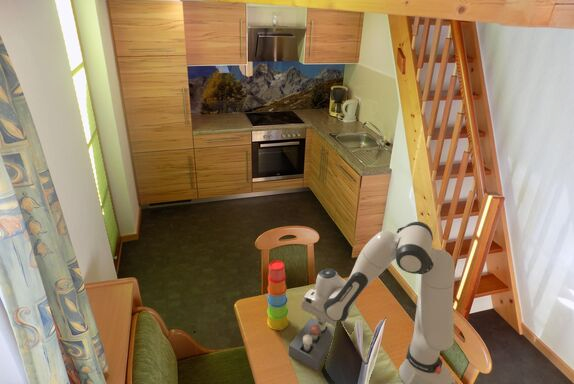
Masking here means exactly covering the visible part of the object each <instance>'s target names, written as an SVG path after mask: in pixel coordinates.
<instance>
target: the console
mask: <svg viewBox="0 0 574 384" xmlns="http://www.w3.org/2000/svg"><path fill="white" fill-rule="evenodd" d="M307 320H308V321H307V322H306V323H305V325H304V326H303V327H302V328H301V329H300V331H299V332H298V333H297V334H296V336H295V337H294V339H292V341H291V342H290V344H289V346H288V355H289V356H290V357H292V358H293V359H296V360H297V361H299V362H300V363H303V364H304V365H306V366H308V367H310V368H312V369H313V370H315V371H318V369H319V368H320V367H321V365H322V364H323V362H324V360H325V359H326V357H327V356H328V354H329V353H330V351H329V349H330V346H331V343H332V340H333V334H334V330H336V329H335V328H332V327H331V326H329V325H327V324H326V329H325V330H324V334H322V333H320V332H319V334H318V337H317V340H316V341H312V344H311V345H310V350H309V351H305V350H304V344H303V336H304V335H311V333H310V329H311V326H312V325H317V322H318V320H317V319H316V318H315V319H314V318H313V317H309V319H307ZM328 352H329V353H328Z"/></svg>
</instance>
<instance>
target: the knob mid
mask: <svg viewBox="0 0 574 384" xmlns="http://www.w3.org/2000/svg"><path fill="white" fill-rule="evenodd" d="M319 332H320V327H319V326H318V325H312V326H311V329H310V333H311V336H312V338H313V339H312V341H316V340H317V337H318V334H319Z"/></svg>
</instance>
